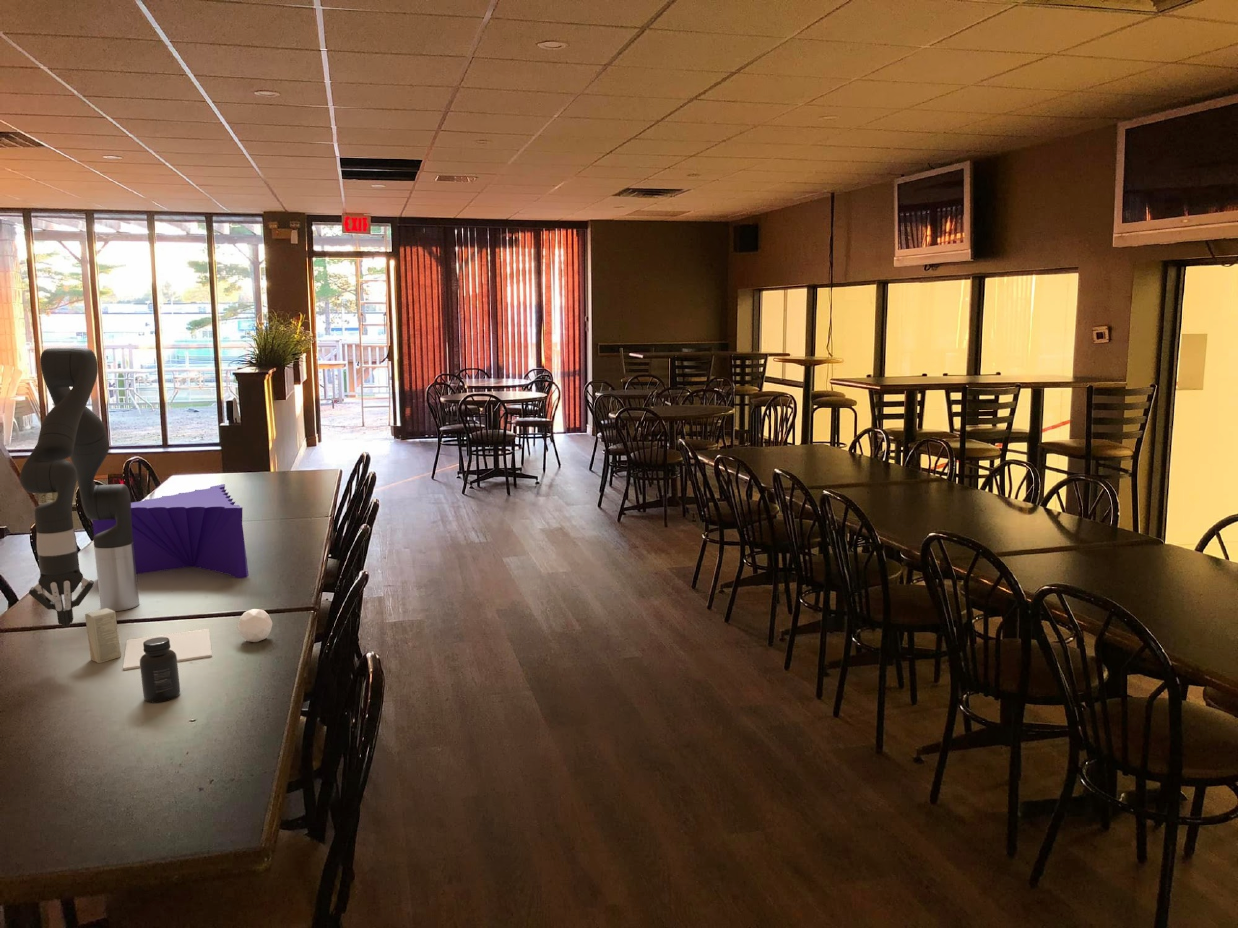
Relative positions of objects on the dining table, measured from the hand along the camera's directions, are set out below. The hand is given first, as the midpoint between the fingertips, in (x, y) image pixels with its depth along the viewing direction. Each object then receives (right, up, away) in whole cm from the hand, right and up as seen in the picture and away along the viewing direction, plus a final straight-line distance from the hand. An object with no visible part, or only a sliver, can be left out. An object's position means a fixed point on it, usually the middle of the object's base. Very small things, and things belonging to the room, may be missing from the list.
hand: (66, 625), depth 209 cm
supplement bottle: (+30, -12, -17) cm, 37 cm away
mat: (+18, -7, +10) cm, 22 cm away
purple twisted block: (-9, +5, +88) cm, 89 cm away
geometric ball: (+37, -6, +15) cm, 40 cm away
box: (+6, -9, +4) cm, 12 cm away
